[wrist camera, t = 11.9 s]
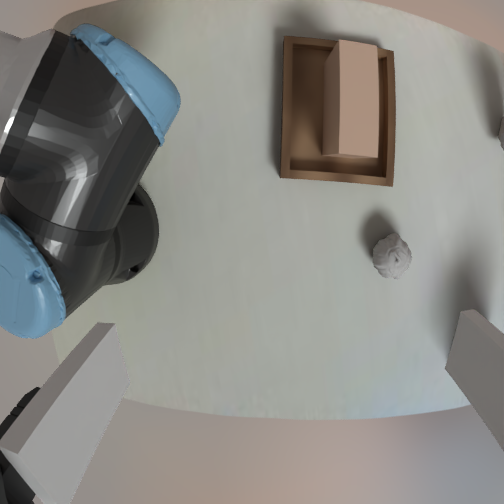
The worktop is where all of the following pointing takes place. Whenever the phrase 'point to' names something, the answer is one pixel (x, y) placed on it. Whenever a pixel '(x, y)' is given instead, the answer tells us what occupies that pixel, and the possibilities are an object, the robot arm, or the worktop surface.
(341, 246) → the worktop surface
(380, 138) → the tray
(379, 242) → the garlic
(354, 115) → the tan rectangular block
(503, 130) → the stone tool
